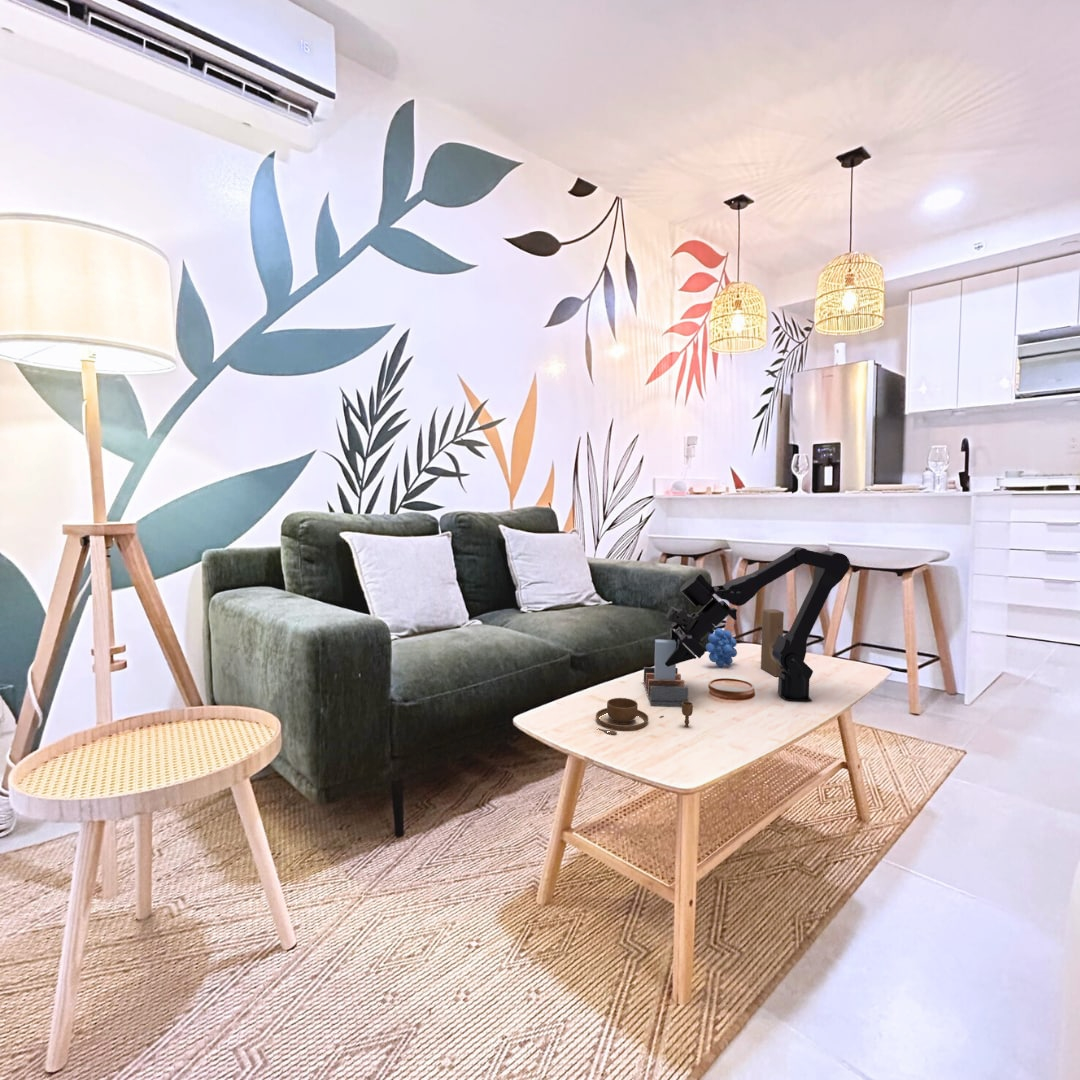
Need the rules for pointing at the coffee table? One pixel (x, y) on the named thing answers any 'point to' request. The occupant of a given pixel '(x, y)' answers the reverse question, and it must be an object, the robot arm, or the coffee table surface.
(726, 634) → the grapes
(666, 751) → the coffee table surface
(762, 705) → the coffee table surface
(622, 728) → the place setting
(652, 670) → the rack
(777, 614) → the wooden block
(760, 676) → the coffee table surface
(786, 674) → the robot arm
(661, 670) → the blue-gray rectangular block
